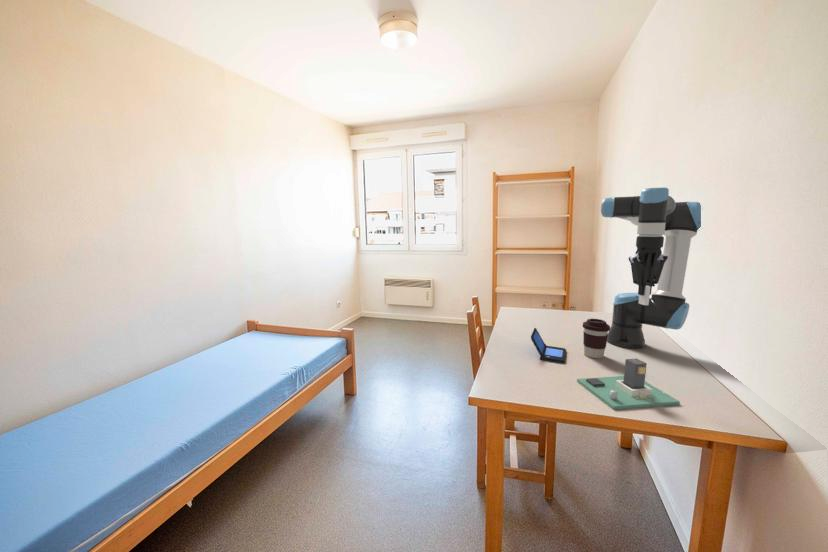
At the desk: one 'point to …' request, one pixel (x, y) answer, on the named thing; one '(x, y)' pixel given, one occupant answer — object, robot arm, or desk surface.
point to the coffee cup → (595, 337)
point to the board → (624, 394)
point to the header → (633, 392)
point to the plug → (634, 373)
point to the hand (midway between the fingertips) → (643, 304)
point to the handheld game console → (547, 349)
